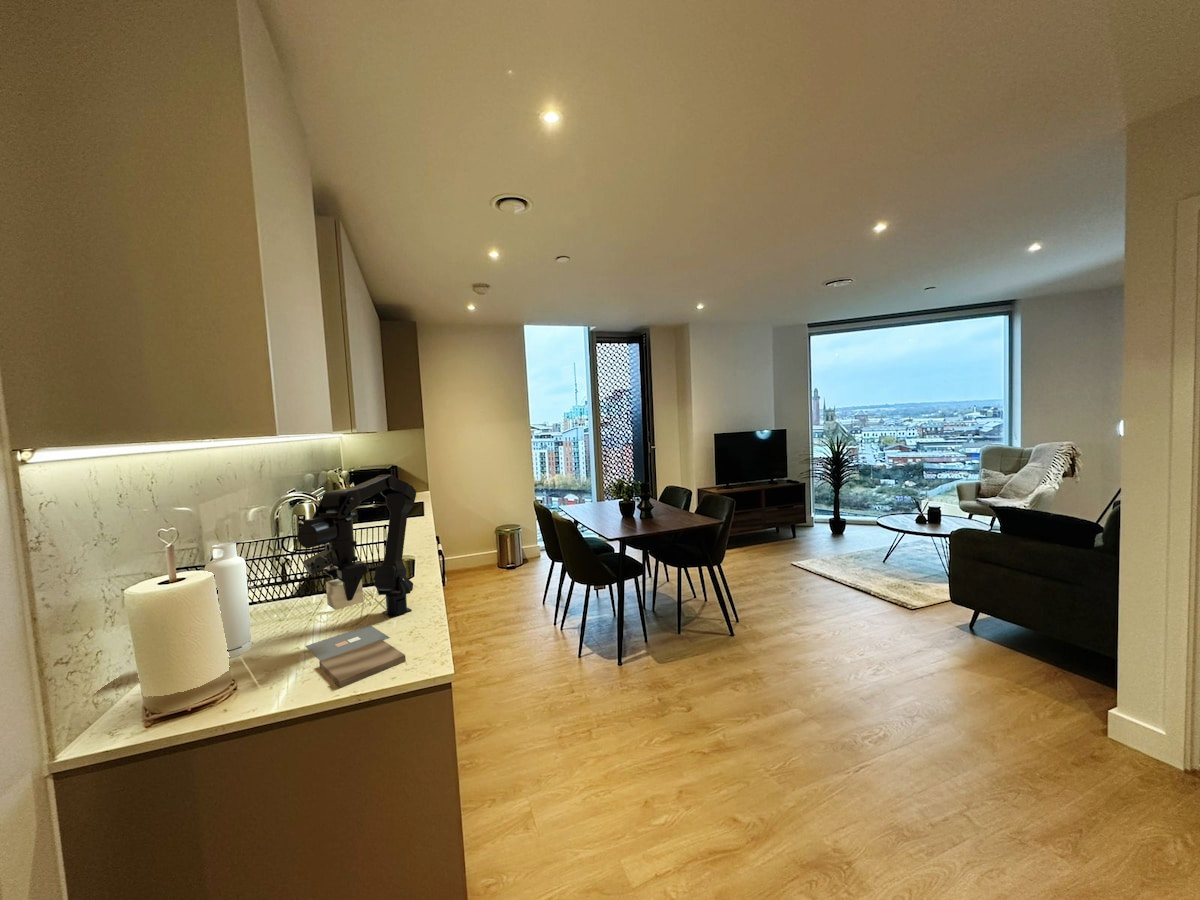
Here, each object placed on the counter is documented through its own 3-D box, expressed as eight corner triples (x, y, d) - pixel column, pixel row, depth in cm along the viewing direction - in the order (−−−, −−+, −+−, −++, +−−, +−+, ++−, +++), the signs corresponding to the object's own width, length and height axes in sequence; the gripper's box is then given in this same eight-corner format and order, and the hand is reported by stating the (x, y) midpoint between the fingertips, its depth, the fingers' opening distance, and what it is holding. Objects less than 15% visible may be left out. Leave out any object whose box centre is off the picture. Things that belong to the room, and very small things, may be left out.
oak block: (327, 604, 115) (325, 581, 115) (354, 597, 120) (352, 575, 120) (335, 610, 111) (334, 586, 111) (363, 602, 116) (361, 579, 116)
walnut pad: (319, 667, 103) (319, 661, 103) (381, 644, 114) (381, 639, 113) (340, 688, 94) (339, 681, 94) (405, 661, 104) (405, 655, 104)
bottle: (259, 644, 118) (252, 540, 117) (234, 659, 110) (226, 547, 109) (229, 645, 118) (221, 541, 117) (202, 660, 110) (193, 549, 109)
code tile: (305, 646, 115) (304, 645, 115) (369, 625, 126) (369, 624, 126) (321, 663, 105) (321, 662, 105) (390, 638, 117) (390, 637, 117)
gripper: (294, 540, 115) (299, 599, 116) (316, 550, 103) (321, 616, 103) (341, 532, 124) (345, 587, 124) (367, 540, 111) (371, 601, 112)
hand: (345, 597), depth 116 cm, fingers closed on oak block, 6 cm apart
